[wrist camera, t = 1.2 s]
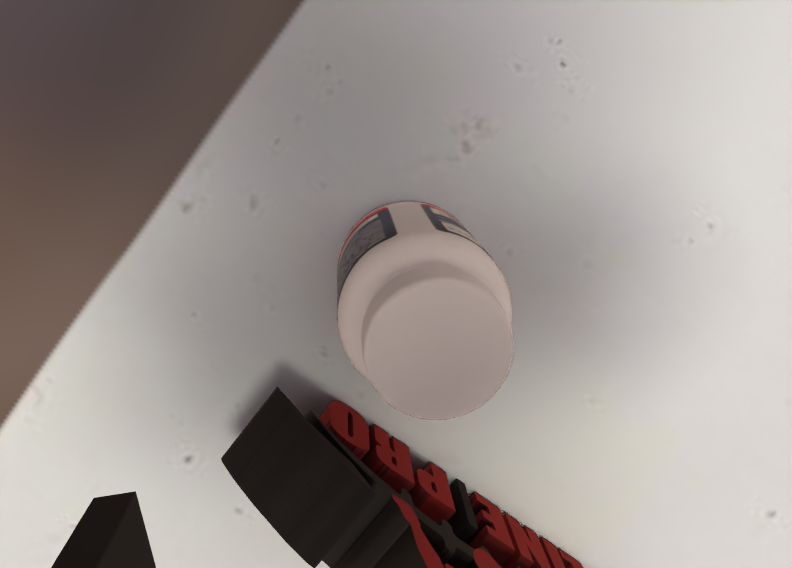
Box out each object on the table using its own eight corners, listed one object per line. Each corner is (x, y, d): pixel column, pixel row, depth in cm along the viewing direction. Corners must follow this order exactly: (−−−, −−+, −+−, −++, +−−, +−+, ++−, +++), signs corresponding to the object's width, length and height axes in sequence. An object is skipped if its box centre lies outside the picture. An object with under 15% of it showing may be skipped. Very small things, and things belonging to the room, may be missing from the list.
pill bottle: (345, 340, 28) (345, 454, 19) (330, 206, 26) (323, 265, 18) (480, 326, 28) (540, 432, 19) (472, 193, 26) (534, 244, 18)
